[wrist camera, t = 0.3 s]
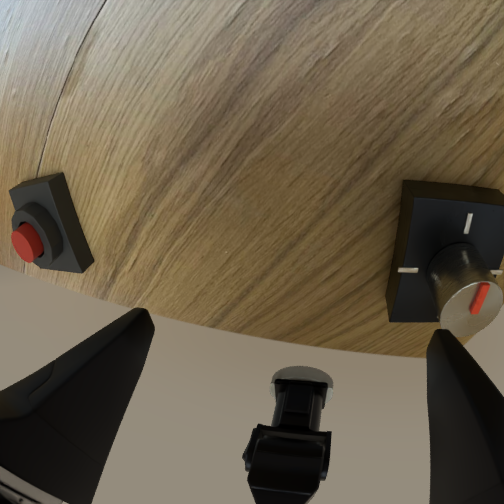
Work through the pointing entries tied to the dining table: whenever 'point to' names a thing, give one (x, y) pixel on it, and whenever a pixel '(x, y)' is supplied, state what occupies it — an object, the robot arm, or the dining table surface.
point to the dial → (463, 290)
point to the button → (27, 242)
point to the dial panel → (439, 240)
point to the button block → (52, 223)
